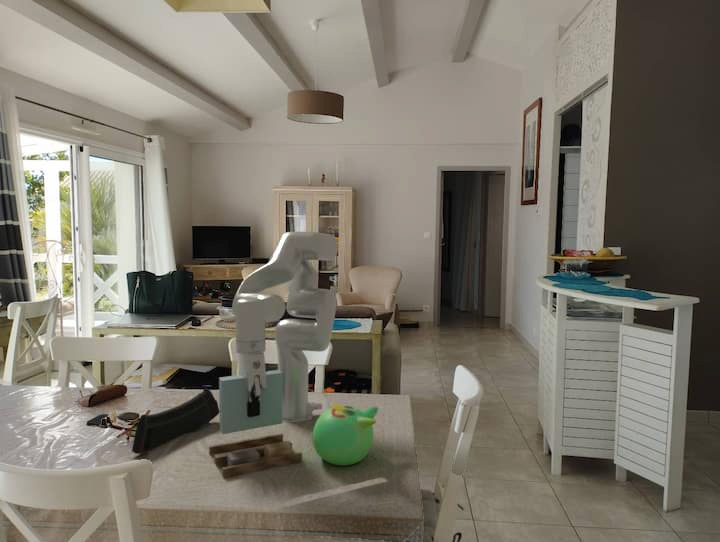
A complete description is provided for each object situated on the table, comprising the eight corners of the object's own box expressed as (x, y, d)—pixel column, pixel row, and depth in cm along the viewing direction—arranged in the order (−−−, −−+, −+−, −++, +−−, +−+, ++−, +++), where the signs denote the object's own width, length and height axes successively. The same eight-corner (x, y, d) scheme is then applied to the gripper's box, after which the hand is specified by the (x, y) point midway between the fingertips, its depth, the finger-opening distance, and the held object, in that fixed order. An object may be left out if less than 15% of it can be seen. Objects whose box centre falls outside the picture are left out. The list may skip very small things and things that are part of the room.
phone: (101, 413, 166) (145, 417, 164) (101, 417, 166) (145, 420, 164) (84, 422, 158) (130, 426, 156) (84, 426, 158) (130, 430, 156)
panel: (278, 419, 144) (278, 369, 143) (282, 423, 142) (282, 372, 140) (219, 430, 137) (219, 377, 136) (222, 434, 134) (221, 380, 133)
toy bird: (316, 445, 146) (317, 393, 145) (377, 447, 146) (378, 395, 145) (308, 475, 128) (308, 417, 127) (377, 477, 128) (378, 418, 127)
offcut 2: (286, 453, 138) (286, 440, 138) (291, 459, 135) (291, 446, 134) (264, 458, 135) (264, 444, 135) (269, 464, 132) (269, 450, 132)
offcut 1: (254, 460, 134) (254, 448, 134) (259, 466, 131) (259, 454, 130) (227, 465, 131) (227, 453, 131) (231, 472, 127) (231, 460, 127)
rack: (281, 442, 148) (281, 432, 147) (302, 465, 134) (302, 454, 133) (208, 456, 138) (208, 445, 138) (223, 482, 124) (223, 470, 124)
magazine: (132, 428, 133) (210, 368, 158) (123, 426, 135) (201, 367, 160) (148, 482, 139) (221, 416, 164) (139, 479, 140) (213, 414, 166)
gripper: (274, 351, 132) (275, 421, 134) (255, 337, 146) (256, 401, 148) (245, 354, 128) (246, 427, 130) (228, 340, 143) (229, 406, 144)
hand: (251, 413), depth 139 cm, fingers closed on panel, 3 cm apart
